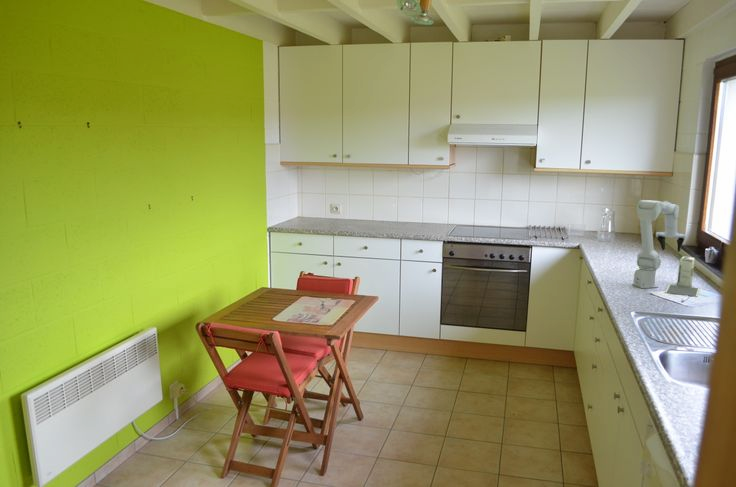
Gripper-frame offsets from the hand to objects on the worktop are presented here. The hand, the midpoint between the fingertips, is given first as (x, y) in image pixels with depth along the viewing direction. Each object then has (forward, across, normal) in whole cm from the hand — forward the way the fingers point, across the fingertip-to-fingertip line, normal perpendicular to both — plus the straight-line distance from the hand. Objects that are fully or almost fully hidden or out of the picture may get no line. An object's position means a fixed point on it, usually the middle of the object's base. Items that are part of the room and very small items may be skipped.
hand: (671, 250), depth 312 cm
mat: (+10, -13, +26) cm, 31 cm away
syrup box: (+13, -11, +14) cm, 22 cm away
